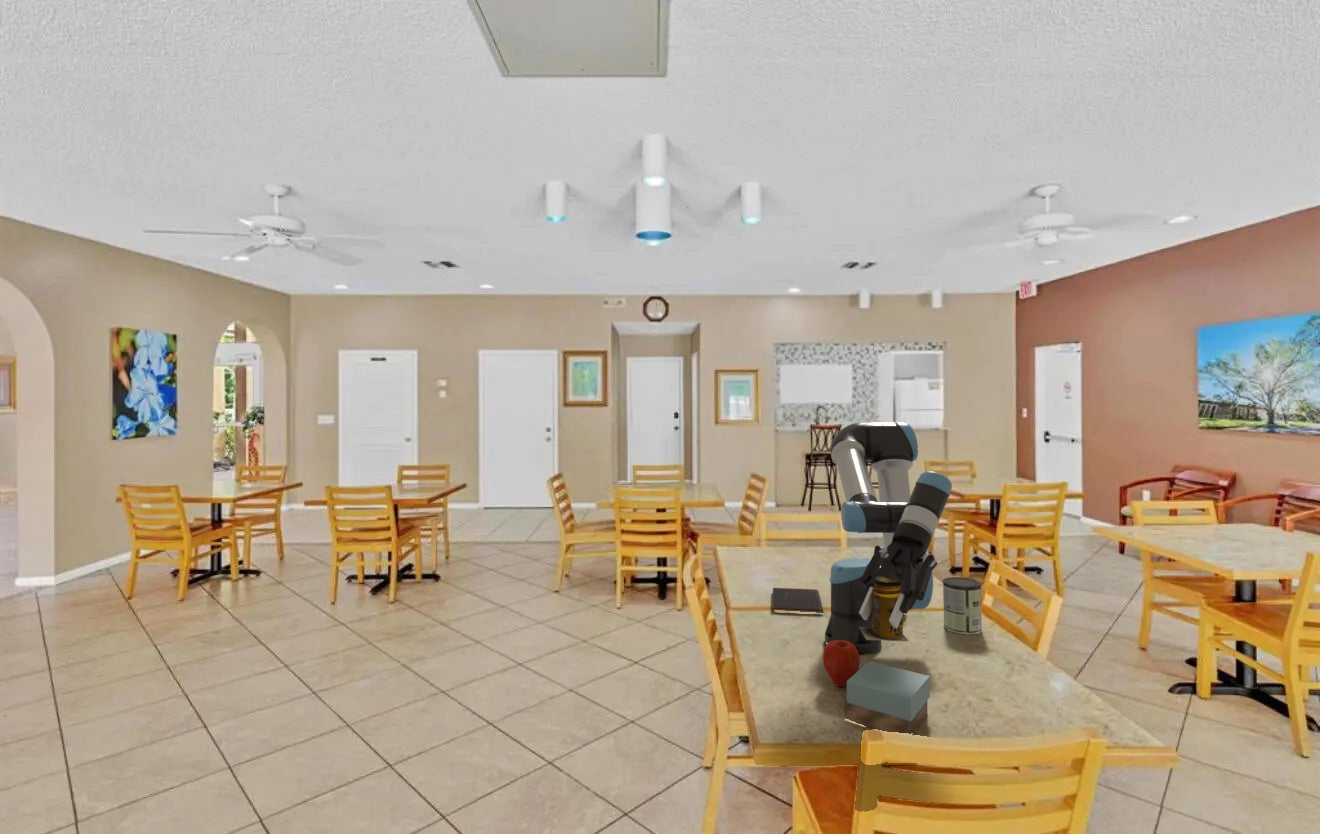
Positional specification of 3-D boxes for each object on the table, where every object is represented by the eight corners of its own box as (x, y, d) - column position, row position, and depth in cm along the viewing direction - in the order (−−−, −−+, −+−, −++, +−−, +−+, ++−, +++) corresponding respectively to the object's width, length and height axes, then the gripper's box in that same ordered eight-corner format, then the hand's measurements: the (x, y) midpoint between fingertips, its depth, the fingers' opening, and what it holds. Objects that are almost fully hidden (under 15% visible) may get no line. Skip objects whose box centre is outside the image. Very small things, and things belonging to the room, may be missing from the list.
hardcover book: (772, 615, 199) (772, 607, 199) (773, 594, 222) (773, 587, 222) (823, 617, 196) (823, 610, 196) (818, 596, 219) (818, 589, 219)
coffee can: (949, 620, 190) (948, 575, 190) (985, 628, 183) (985, 580, 183) (938, 629, 182) (937, 582, 182) (976, 637, 175) (975, 588, 175)
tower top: (846, 702, 129) (846, 681, 129) (869, 681, 139) (869, 661, 139) (910, 721, 121) (910, 698, 121) (929, 697, 131) (929, 676, 131)
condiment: (909, 641, 126) (908, 583, 126) (866, 640, 127) (865, 583, 127) (899, 629, 133) (898, 574, 133) (859, 628, 134) (858, 573, 134)
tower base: (844, 723, 129) (844, 702, 129) (867, 700, 139) (867, 680, 139) (907, 743, 121) (907, 721, 121) (927, 717, 131) (927, 696, 131)
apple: (844, 697, 140) (844, 650, 140) (815, 684, 147) (814, 639, 147) (867, 687, 145) (867, 641, 145) (838, 675, 152) (837, 631, 152)
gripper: (963, 547, 132) (929, 642, 122) (882, 535, 147) (844, 619, 136) (952, 526, 129) (915, 622, 118) (869, 515, 143) (830, 600, 133)
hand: (877, 620), depth 127 cm, fingers closed on condiment, 6 cm apart
